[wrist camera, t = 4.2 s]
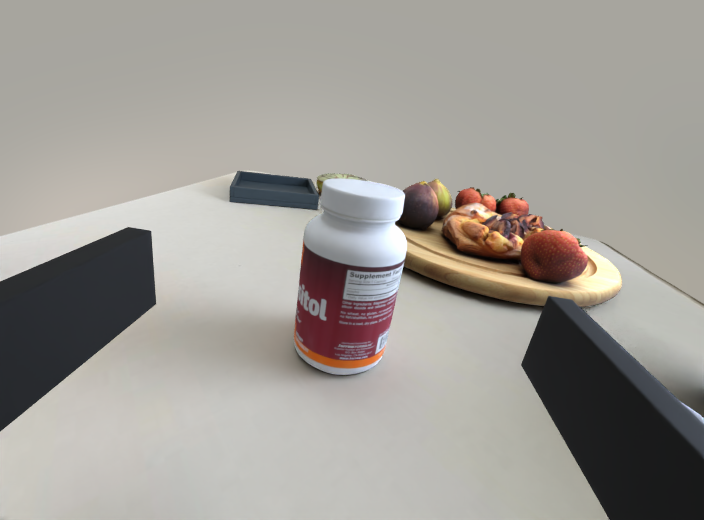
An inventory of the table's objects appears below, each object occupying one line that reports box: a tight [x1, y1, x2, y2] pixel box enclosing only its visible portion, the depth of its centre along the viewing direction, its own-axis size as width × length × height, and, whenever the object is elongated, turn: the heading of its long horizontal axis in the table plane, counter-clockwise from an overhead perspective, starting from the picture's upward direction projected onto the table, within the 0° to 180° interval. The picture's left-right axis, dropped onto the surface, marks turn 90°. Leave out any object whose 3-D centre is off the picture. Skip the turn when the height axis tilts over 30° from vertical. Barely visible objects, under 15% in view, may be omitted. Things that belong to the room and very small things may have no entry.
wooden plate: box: [395, 179, 622, 307], centre depth 47 cm, size 32×32×8 cm
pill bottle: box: [294, 178, 407, 375], centre depth 22 cm, size 6×6×11 cm
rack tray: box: [230, 171, 319, 209], centre depth 61 cm, size 13×13×2 cm
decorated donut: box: [317, 174, 367, 193], centre depth 68 cm, size 10×11×4 cm
